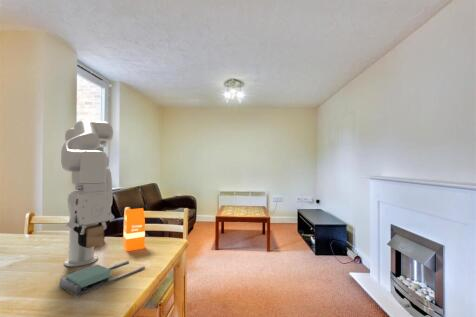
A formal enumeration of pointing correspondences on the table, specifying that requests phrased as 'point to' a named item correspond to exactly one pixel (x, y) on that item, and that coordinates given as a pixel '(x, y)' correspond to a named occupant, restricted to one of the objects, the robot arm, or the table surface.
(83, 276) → the sage green box
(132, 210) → the orange juice
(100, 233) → the block
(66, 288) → the track
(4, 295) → the table surface
